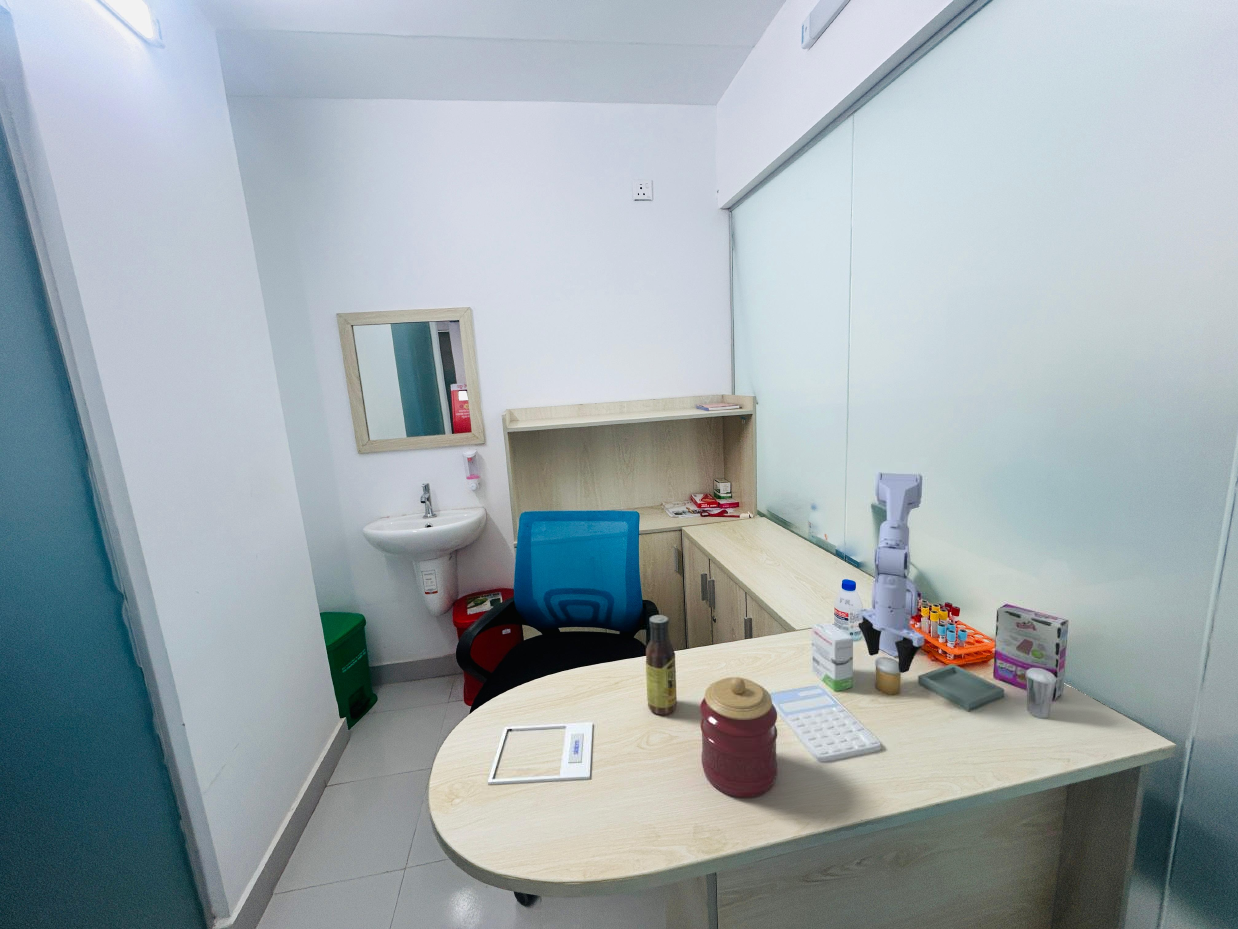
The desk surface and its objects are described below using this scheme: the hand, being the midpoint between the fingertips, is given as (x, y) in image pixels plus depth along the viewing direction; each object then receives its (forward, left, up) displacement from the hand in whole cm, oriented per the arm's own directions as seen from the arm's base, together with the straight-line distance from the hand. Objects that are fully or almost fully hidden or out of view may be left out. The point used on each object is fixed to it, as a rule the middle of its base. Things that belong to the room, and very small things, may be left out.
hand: (888, 662), depth 109 cm
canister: (+6, -43, -7) cm, 44 cm away
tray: (+7, +13, -6) cm, 16 cm away
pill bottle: (0, 0, -6) cm, 6 cm away
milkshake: (+19, +19, -6) cm, 28 cm away
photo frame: (-14, -73, -7) cm, 75 cm away
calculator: (+2, -21, -7) cm, 22 cm away
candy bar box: (+12, +27, -7) cm, 30 cm away
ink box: (-8, -8, -7) cm, 13 cm away
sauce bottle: (-16, -47, -6) cm, 50 cm away
